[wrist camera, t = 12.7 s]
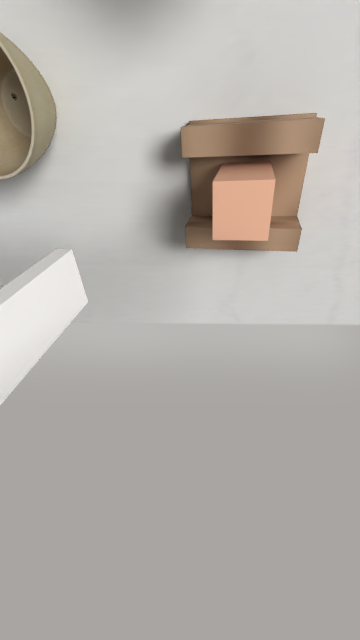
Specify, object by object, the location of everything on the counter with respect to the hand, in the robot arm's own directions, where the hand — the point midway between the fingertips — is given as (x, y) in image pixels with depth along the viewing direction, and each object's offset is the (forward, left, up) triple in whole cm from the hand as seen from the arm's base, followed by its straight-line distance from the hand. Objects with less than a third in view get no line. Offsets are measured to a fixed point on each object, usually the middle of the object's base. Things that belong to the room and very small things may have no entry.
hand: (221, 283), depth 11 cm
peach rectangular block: (0, 0, -18) cm, 18 cm away
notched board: (0, 0, -19) cm, 19 cm away
